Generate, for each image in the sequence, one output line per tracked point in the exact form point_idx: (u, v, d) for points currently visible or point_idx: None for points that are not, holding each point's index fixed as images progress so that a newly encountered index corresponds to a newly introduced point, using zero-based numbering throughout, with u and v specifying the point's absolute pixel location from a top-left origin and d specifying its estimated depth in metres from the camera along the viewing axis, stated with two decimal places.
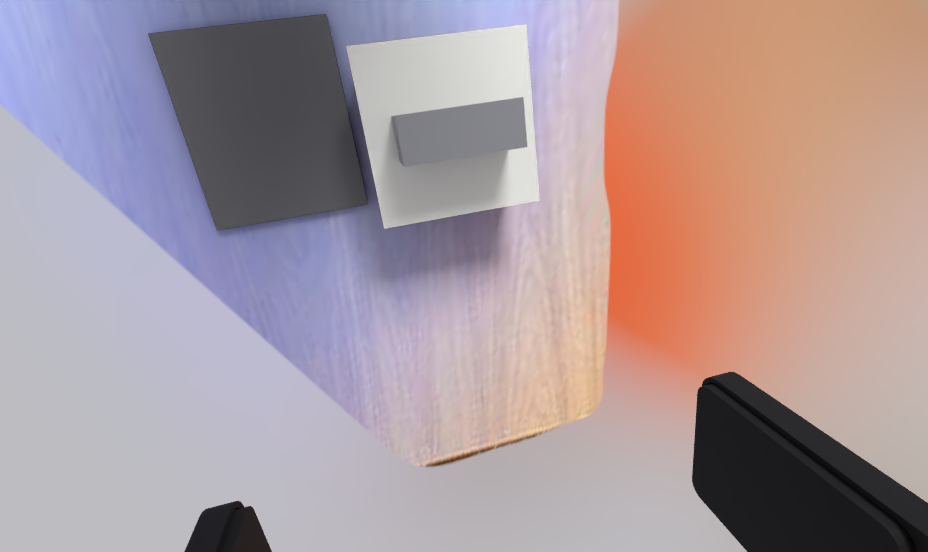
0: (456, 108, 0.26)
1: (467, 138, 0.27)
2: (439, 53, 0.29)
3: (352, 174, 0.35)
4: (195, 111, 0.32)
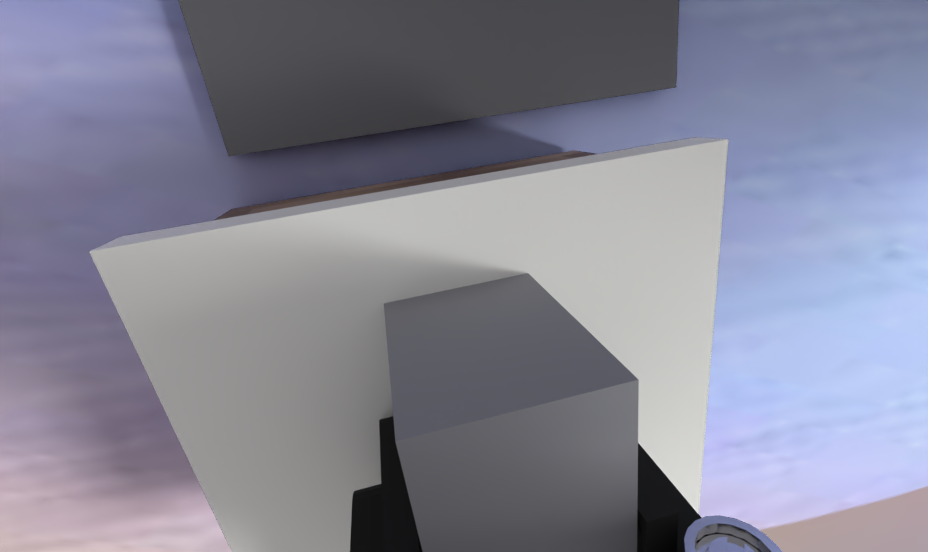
0: None
1: None
2: (669, 389, 0.11)
3: (316, 117, 0.12)
4: None
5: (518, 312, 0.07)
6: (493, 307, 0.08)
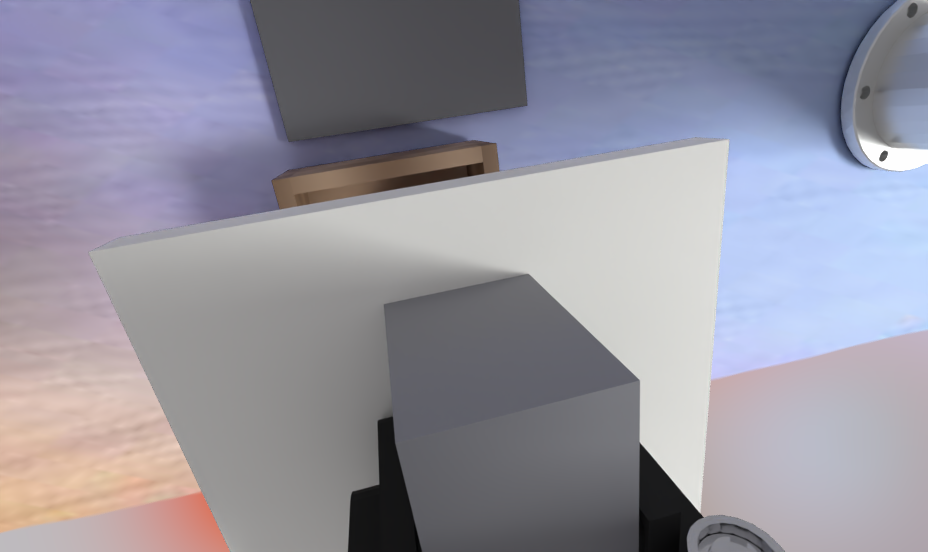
0: None
1: None
2: (670, 390, 0.11)
3: (333, 122, 0.24)
4: None
5: (518, 313, 0.07)
6: (493, 308, 0.08)
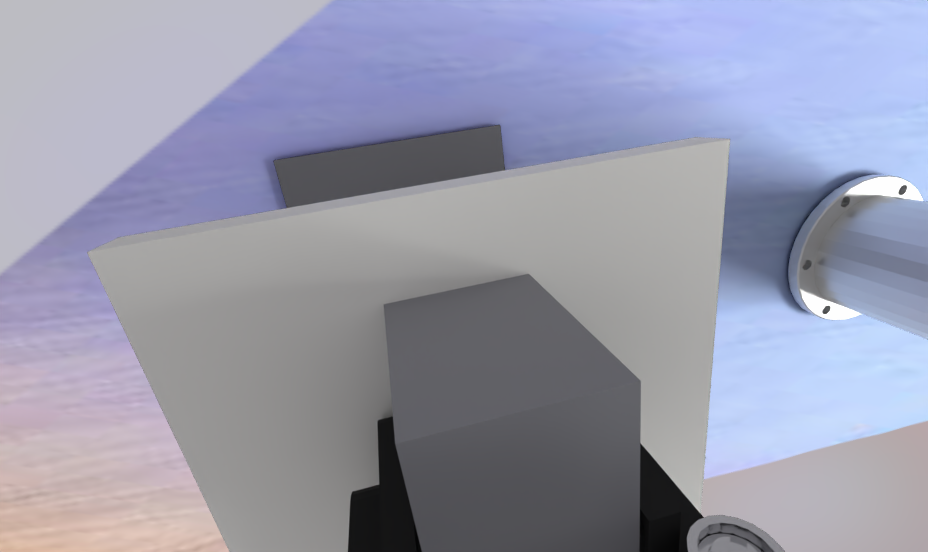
0: None
1: None
2: (671, 391, 0.11)
3: None
4: (423, 159, 0.28)
5: (519, 313, 0.07)
6: (494, 308, 0.08)
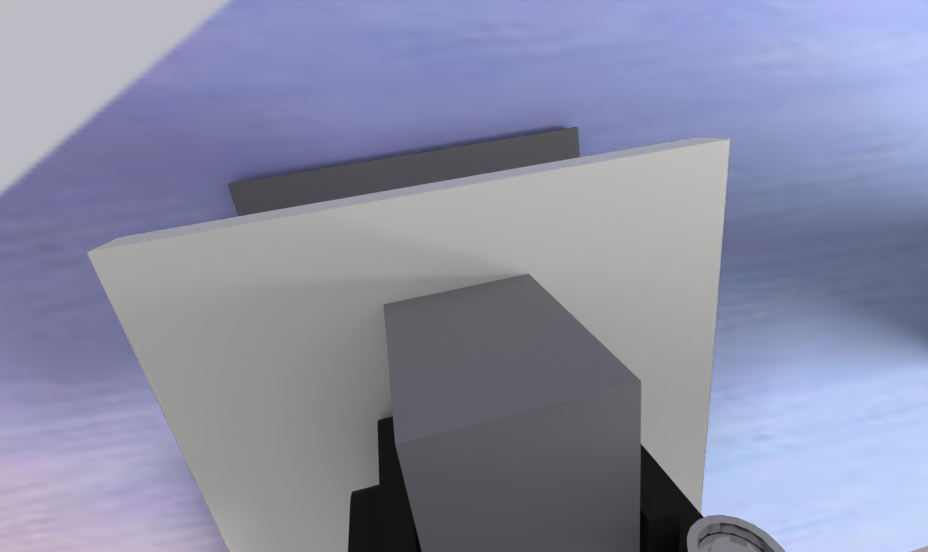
0: None
1: None
2: (671, 391, 0.11)
3: None
4: None
5: (519, 313, 0.07)
6: (494, 308, 0.08)
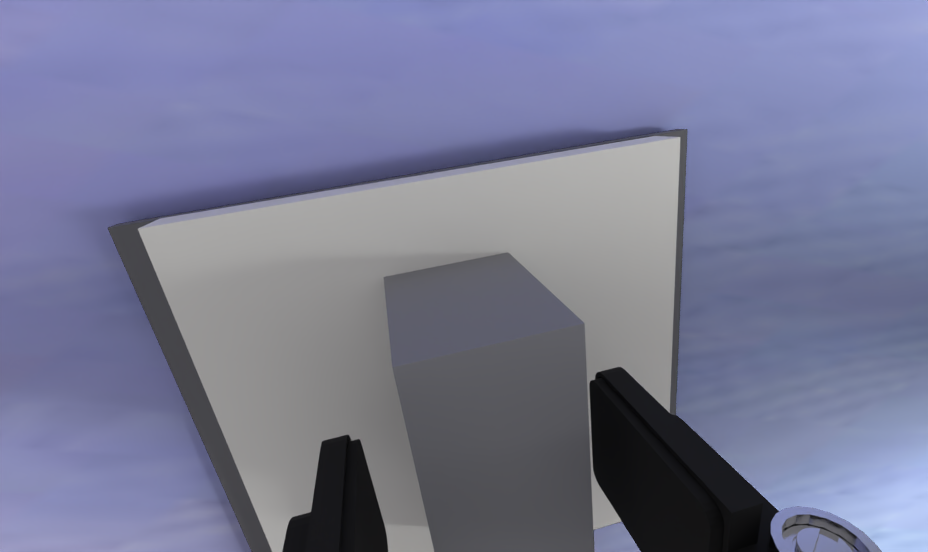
0: (587, 503, 0.08)
1: (496, 546, 0.08)
2: (636, 359, 0.12)
3: None
4: None
5: (496, 280, 0.09)
6: (476, 277, 0.09)
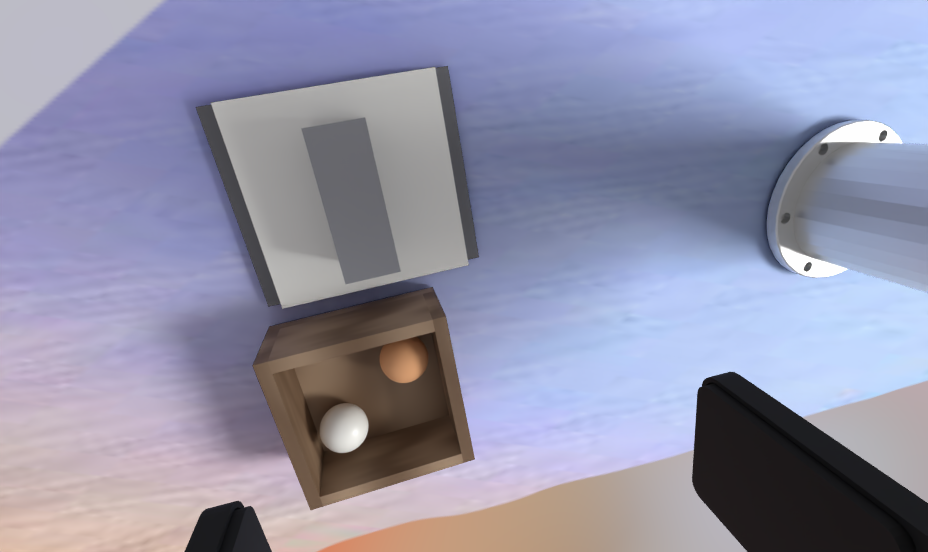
0: (381, 194, 0.22)
1: (347, 209, 0.22)
2: (435, 175, 0.26)
3: None
4: None
5: None
6: None
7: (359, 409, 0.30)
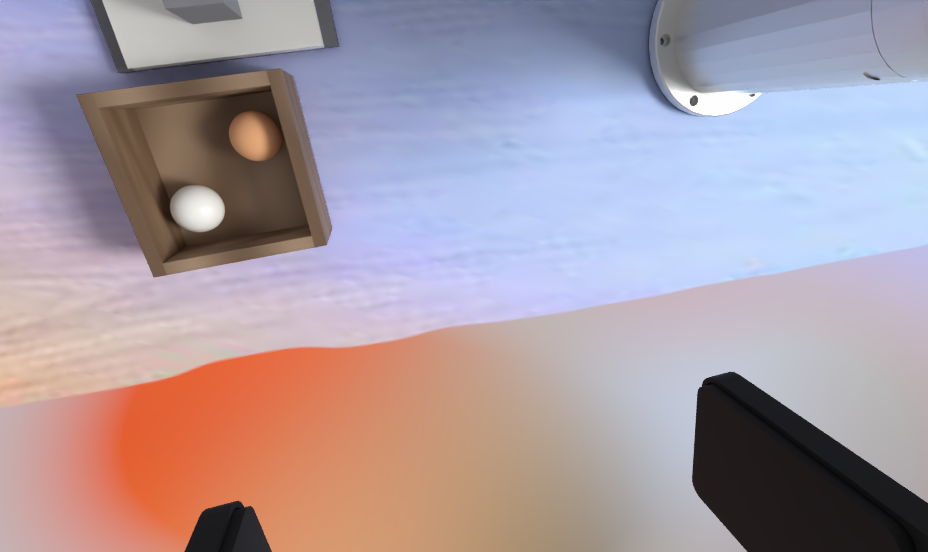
0: None
1: None
2: None
3: None
4: None
5: None
6: None
7: (213, 191, 0.30)
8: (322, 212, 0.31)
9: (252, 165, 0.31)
